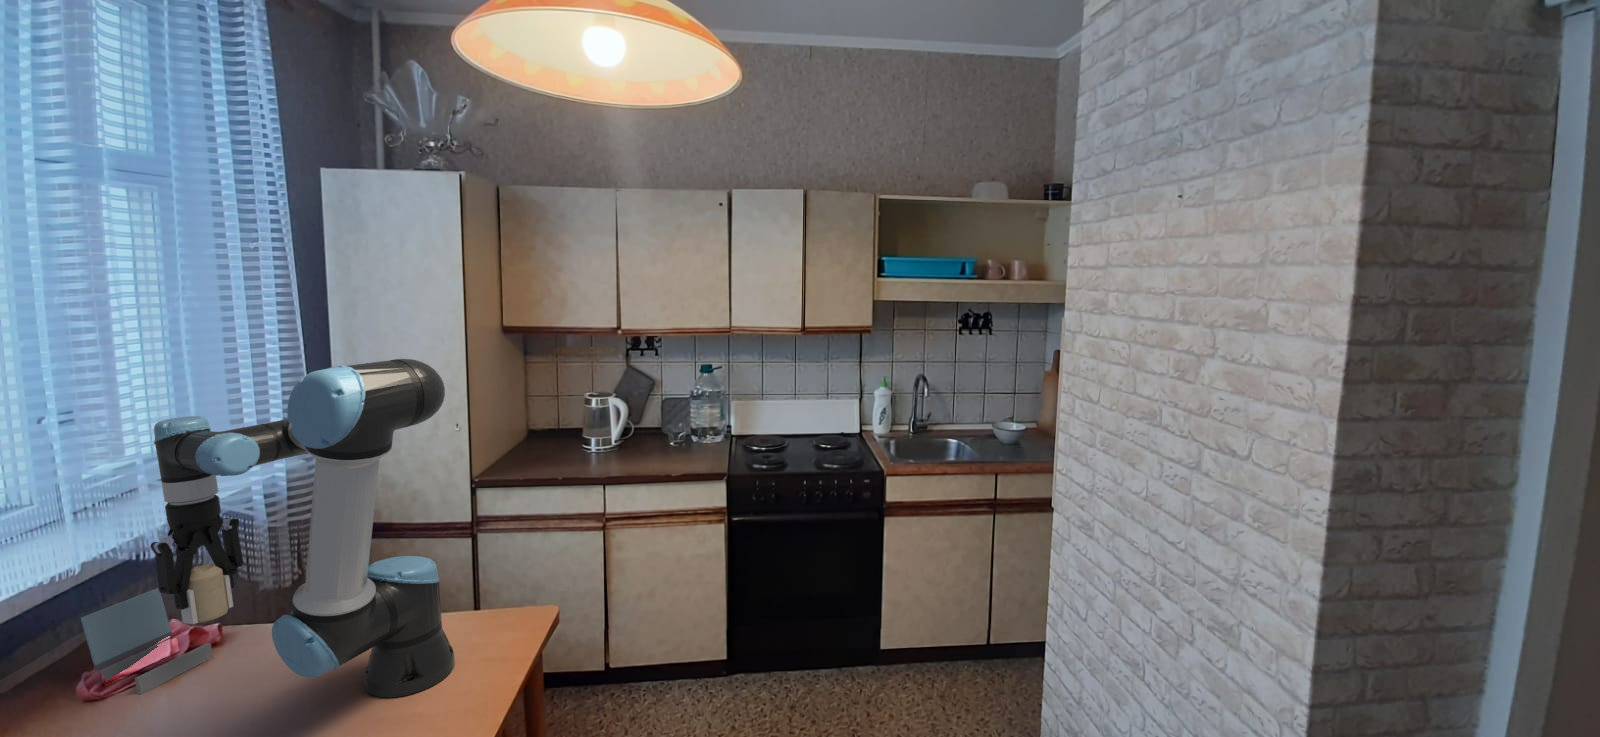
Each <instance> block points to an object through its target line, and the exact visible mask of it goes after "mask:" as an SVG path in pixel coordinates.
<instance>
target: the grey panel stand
mask: <svg viewBox="0 0 1600 737" xmlns="http://www.w3.org/2000/svg"><path fill="white" fill-rule="evenodd" d="M157 647H158V646H157V644H156V646H155V645H154V646H152V647H150V648H148V649H145V650H143V651H141V652H139V653H137V654H134V655H132V656H130V657H128V658H126V659H124V660H121V661H119V662H117V663H115V664H113V665H110V666H108V667H106V668H104V669H102V670H99V673H100V675H101V674H102V675H103V677H104V679H105V681H106V682H108V681H107V680H110V678H111V677H112V676H114V675H116V674H119V673H120V672H122V671H123V670H125V669H127V668H128V667H130V666H131V665H133V664H134V663H136V662H137V661H139V660H140V659H141V658H143V657H144V656H146V655H147V654H149V653H150V652H151V651H152V650H154V649H155V648H157ZM210 658H212V659H213V651H212V644H211V643H208V642H206V643H204V644H202V645H200V646H198V647H196V648H194V649H192V650H190V651H188V652H186V653H184V654H181V655H179V656H178V657H176V658H173V659H170V660H169V661H167V662H165V663H163V664H161V665H159V666H157V667H155V668H153V669H150V670H149V671H147V672H144V673H143V674H141V675H138V676H136V677H134V681H135V689H136V694H138V695H143V694H145V693H146V692H148V691H150V690H153V689H154V688H156V687H158V686H160V685H162V684H165V683H167V681H170V680H171V679H174V678H176V677H178V676H180V675H182V674H184V673H186V672H188V671H190V670H192V669H193V668H192V667H194V666H196V665H198V664H200V663H202V662H204V661H206V660H208V659H210ZM210 660H211V659H210ZM208 661H209V660H208ZM206 662H207V661H206ZM204 663H205V662H204ZM202 664H203V663H202ZM200 665H201V664H200ZM198 666H199V665H198ZM196 667H197V666H196ZM191 668H192V669H191ZM194 668H195V667H194ZM189 669H190V670H189ZM187 670H188V671H187ZM185 671H186V672H185ZM183 672H184V673H183ZM181 673H182V674H181ZM179 674H180V675H179ZM177 675H178V676H177Z"/></svg>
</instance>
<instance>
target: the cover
mask: <svg viewBox="0 0 1600 737" xmlns="http://www.w3.org/2000/svg"><path fill="white" fill-rule="evenodd" d="M168 618H169V617H168V615H167V611H166V607H165V604H164V601H163V597H162V593H160V592H159V587H156V588H155V589H151V590H149V591H146V592H144V593H141V594H138V595H135V596H133V597H131V598H128V599H125V600H123V601H121V602H118V603H115V604H113V605H110V606H108V607H105V608H103V609H100V610H97V611H95V612H92V613H90V614H87V615H84V616H82V617H80V621H81V624H82V627H83V631H84V634H85V638H86V642H87V646H88V649H89V652H90V656H91V660H92V664H93V667H94V671H95V672H98V671H99V672H100V670H103V669H105V668H107V667H109V666H111V665H114V664H116V663H118V662H120V661H122V660H125V659H127V658H129V657H131V656H133V655H135V654H138V653H140V652H142V651H144V650H146V649H149V648H151V647H153V646H155V644H156V645H157V643H158V642H159V641H161V640H162V639H164V638H166V637H168V636H173V632H172V630H171V626H170V622H169V619H168ZM173 637H174V636H173Z"/></svg>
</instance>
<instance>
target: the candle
mask: <svg viewBox="0 0 1600 737" xmlns="http://www.w3.org/2000/svg"><path fill="white" fill-rule="evenodd" d="M188 589H190V590H193V591H194V598H195V605H196V611H197V618H198V623H199V624H200V623H205V622H210V621H213V620H216V619H219V618H220V617H223V616H224V615H226V614H227V613H228V612H229V611H228V610H229V608H228V607H227V599H226V592H225V585H224V578H223V571H222V569H221V568H219V567H217V566H215V564H214V563H206V564H203V565H198V566H197V565H196V566H194V567H192V569H191V575H190V581H189V586H188ZM198 623H197V624H198Z"/></svg>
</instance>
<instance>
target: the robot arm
mask: <svg viewBox="0 0 1600 737" xmlns="http://www.w3.org/2000/svg"><path fill="white" fill-rule="evenodd" d="M445 388H446V387H445V384H444V381H443V379H442V377H441V375H440V374H439V373H438V371H436V370H435V369H434V368H433V367H432V366H430V365H429V364H427V363H424V361H419V360H416V359H411V358H396V359H391V360H383V361H376V362H375V361H374V362H365V363H358V364H350V365H345V364H343V365H342V364H341V365H335V366H330V367H328V368H324V369H319V370H315V371H312V372H309V373H308V374H306V375H305V376H304V377H301V378H300V379H299V380H298V381H297V383H295V385H294V386H293V388H292V390H291V392H290V395H289V398H288V401H287V408H286V411H287V414H286V416H287V418H285V419H280V420H277V421H271V422H266V423H260V424H256V425H248V426H245V427H244V426H243V427H240V428H232V429H226V430H222V431H211V430H212V427H211V426H210V424H209V420H208V418H206V417H205V416H200V415H199V416H198V415H195V416H193V415H192V416H181V417H172V418H167V419H164V420H163V419H162V420H161V421H158V422H157V423H155V425H154V427H153V433H154V441H153V444H154V445H155V451H156V456H157V457H156V458H157V462H158V469H159V473H160V474H159V475H160V479H161V480H160V481H161V486H162V494H163V501H164V502H166V504H165V506H164V509H165V510H164V511H165V516H166V522H167V524H168V526H169V531H168V533H167V536H166V537H164V538H162V539H161V540H160V541H152V542H151V544H150V548H151V550H152V552H153V553H154V555H155V563H156V575H157V581H158V582H157V583H158V584H157V585H158V588H159V592H160V593H161V594H167V595H173V600H174V604H175V608H176V609H177V610H180V614H181V619H182V623H183V624H188V625H189V624H190V625H196V624H198V618H197V611H196V605H195V598H194V591H193V590H190V589H188V586H189V581H190V575H191V570H192V569H193V562H194V556H195V555H196V554H197V552H198V549H199V548H200V547H202V546H203V547H205V550H206V551H207V552H208V555H209V556H210V558H211V560H212V562H213V565H215V566H217V567H219V568H221V569H222V571H223V578H224V585H225V592H226V599H227V607H228V609H230V608H233V607H234V602H233V594H232V593H233V592H232V589H234V587H235V578H234V575H235V574H236V573H237V572H238V568H240V567H241V568H242V566H243V565H244V559H243V554H242V553H243V552H242V548H241V541H240V537H239V531H238V530H239V525H240V519H238V518H234V517H233V518H232V517H225V518H224V519H223V518H222V516H221V515H220V514H221V513H222V510H221V501H220V496H218V495H217V494H218V492H219V487H218V481H217V476H221V477H228V476H229V477H230V476H233V477H236V476H239V475H244V474H245V473H247V472H248V471H250V470H251V469H253V468H254V467H256V466H259V465H263V464H267V463H272V462H275V461H278V460H283V459H287V458H289V459H290V458H293V457H296V456H300V455H302V456H303V455H307V454H309V455H310V456H311V457H313V458H314V459H315V461H314V473H313V487H312V500H311V511H310V524H309V535H308V536H309V537H308V547H307V548H308V550H307V561H306V572H305V583H302V584H301V585H300V586H299V587H298V588H297V589H296V590H295V592H294V593H293V596H292V603H291V611H290V612H289V613H287V614H283V615H281V617H279V618H278V619H276V621H274V623H273V625H272V628H271V637H272V642H273V645H274V648H275V651H276V652H277V654H278V656H279V657H280V659H281V660H282V661H283V663H284V664H285V665H286V667H287V668H288V669H289V670H291V671H292V672H293V673H295V674H297V675H298V676H300V677H303V678H307V679H313V678H318V677H320V676H322V675H324V674H327V673H328V672H330V671H331V672H332V671H333V670H337V668H339V667H340V666H342V665H343V664H346V663H348V662H349V661H351V660H353V659H354V658H356V657H358V656H360V655H361V654H363V653H365V652H367V651H369V650H370V649H371V651H370V653H369V654H370V655H369V658H368V663H367V667H366V668H365V671H364V676H363V677H364V688H365V690H366V692H367V693H369V694H370V695H371V696H375V697H379V698H399V697H404V696H409V695H412V694H413V695H414V694H416V693H419V692H422V691H424V690H427V689H430V688H431V687H433V686H435V685H437V684H438V683H440V682H442V681H443V680H444V679H446V678H447V677H448V676H449V675H450V674H451V672H452V671H453V669H454V667H455V663H456V660H455V651H454V648H453V647H452V646H451V644H450V640H449V639H448V637H447V634H446V633H445V631H444V629H443V624H442V622H443V621H442V612H441V611H442V609H441V597H440V596H441V594H440V579H441V578H440V577H439V574H438V568H437V567H438V566H437V564H436V562H435V561H434V560H432V558H429V557H424V556H420V555H419V556H417V555H403V556H394V557H389V558H385V559H384V558H383V559H381V560H377V561H375V562H373V563H370V554H371V545H372V544H371V543H372V535H373V525H374V516H375V507H376V499H377V498H376V496H377V489H378V487H377V486H378V478H379V468H380V461H381V460H380V459H382V458H383V457H384V456H386V455H388V454H389V453H390V451H391V450H392V447H393V439H394V432H395V431H396V430H401V429H405V428H408V427H412V426H415V425H419V424H420V423H423V422H426V421H427V420H429V419H430V418H432V417H433V416H434V415H436V413H437V412H438V411H440V409H441V407H443V406H442V405H443V403H444V401H445V396H446V390H445ZM220 529H221V535H222V536H221V537H222V540H223V542H222V540H221V538H220V535H219V534H218V533H219V532H220ZM173 543H174V544H176V548H175V554H176V558H175V559H176V560H174V552H173V551H172V549H174V545H173ZM222 543H223V545H222ZM369 563H370V564H369Z"/></svg>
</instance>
